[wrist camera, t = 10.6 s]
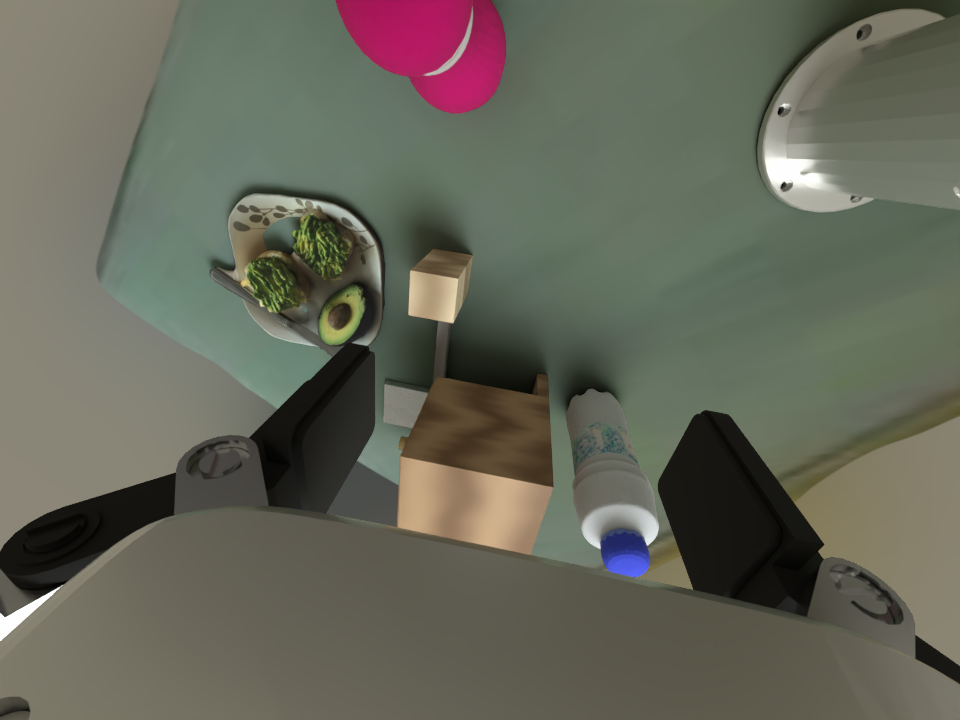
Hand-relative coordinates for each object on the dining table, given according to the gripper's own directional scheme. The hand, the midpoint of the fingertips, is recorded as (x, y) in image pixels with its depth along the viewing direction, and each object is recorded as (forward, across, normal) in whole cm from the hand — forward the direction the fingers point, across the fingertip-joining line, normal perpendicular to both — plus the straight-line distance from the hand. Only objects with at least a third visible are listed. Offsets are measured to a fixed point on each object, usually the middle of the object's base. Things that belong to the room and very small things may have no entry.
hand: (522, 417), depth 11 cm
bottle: (+28, -11, +18) cm, 35 cm away
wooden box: (+28, +1, +22) cm, 36 cm away
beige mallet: (+28, +7, +15) cm, 33 cm away
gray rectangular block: (+29, +11, +23) cm, 38 cm away
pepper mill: (+28, +8, -12) cm, 32 cm away
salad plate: (+29, +22, +9) cm, 37 cm away
